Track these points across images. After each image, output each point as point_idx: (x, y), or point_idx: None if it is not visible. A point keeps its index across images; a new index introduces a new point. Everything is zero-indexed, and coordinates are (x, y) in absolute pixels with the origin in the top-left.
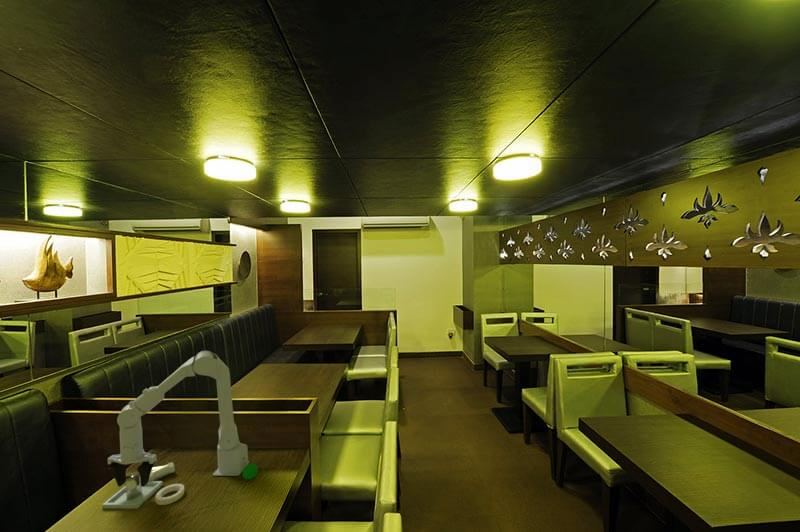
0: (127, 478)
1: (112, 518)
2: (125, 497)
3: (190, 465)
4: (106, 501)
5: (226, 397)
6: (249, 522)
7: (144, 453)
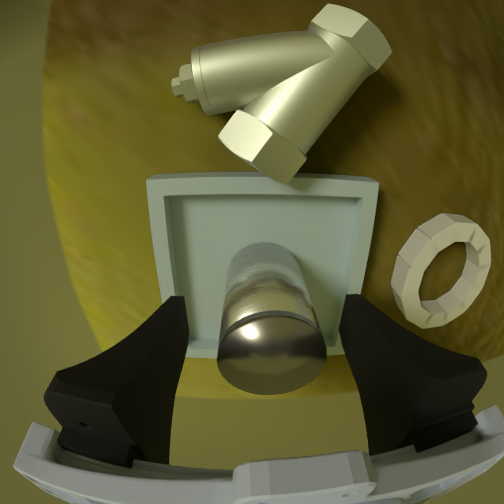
0: (253, 388)
1: None
2: None
3: (407, 3)
4: None
5: None
6: None
7: (412, 485)
